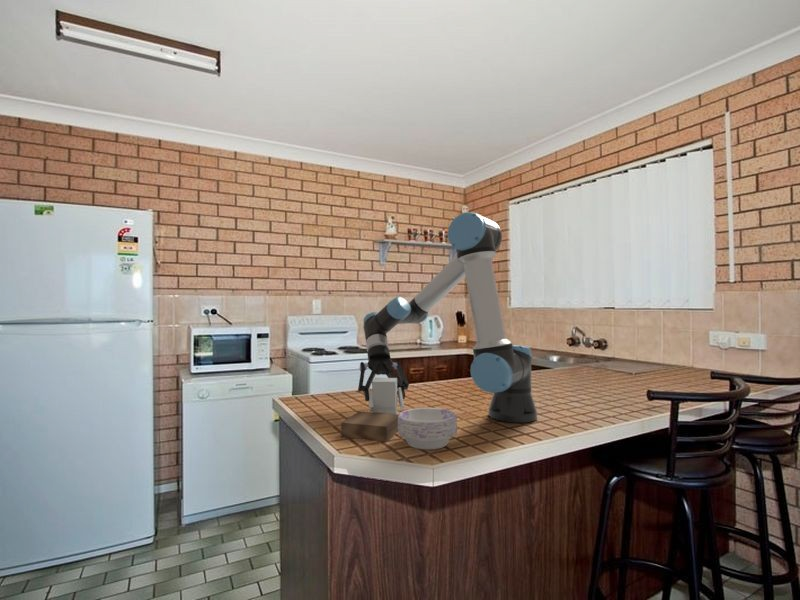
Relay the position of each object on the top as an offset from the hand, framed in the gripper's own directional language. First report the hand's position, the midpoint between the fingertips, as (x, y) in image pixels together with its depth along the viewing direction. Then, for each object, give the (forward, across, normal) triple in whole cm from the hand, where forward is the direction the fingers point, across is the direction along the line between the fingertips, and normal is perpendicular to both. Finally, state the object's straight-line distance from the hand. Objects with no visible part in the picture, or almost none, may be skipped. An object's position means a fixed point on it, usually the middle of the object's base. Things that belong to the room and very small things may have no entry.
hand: (387, 408), depth 130 cm
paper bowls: (+19, -6, +12) cm, 23 cm away
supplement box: (+1, 0, -6) cm, 6 cm away
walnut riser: (+10, +6, +4) cm, 12 cm away
